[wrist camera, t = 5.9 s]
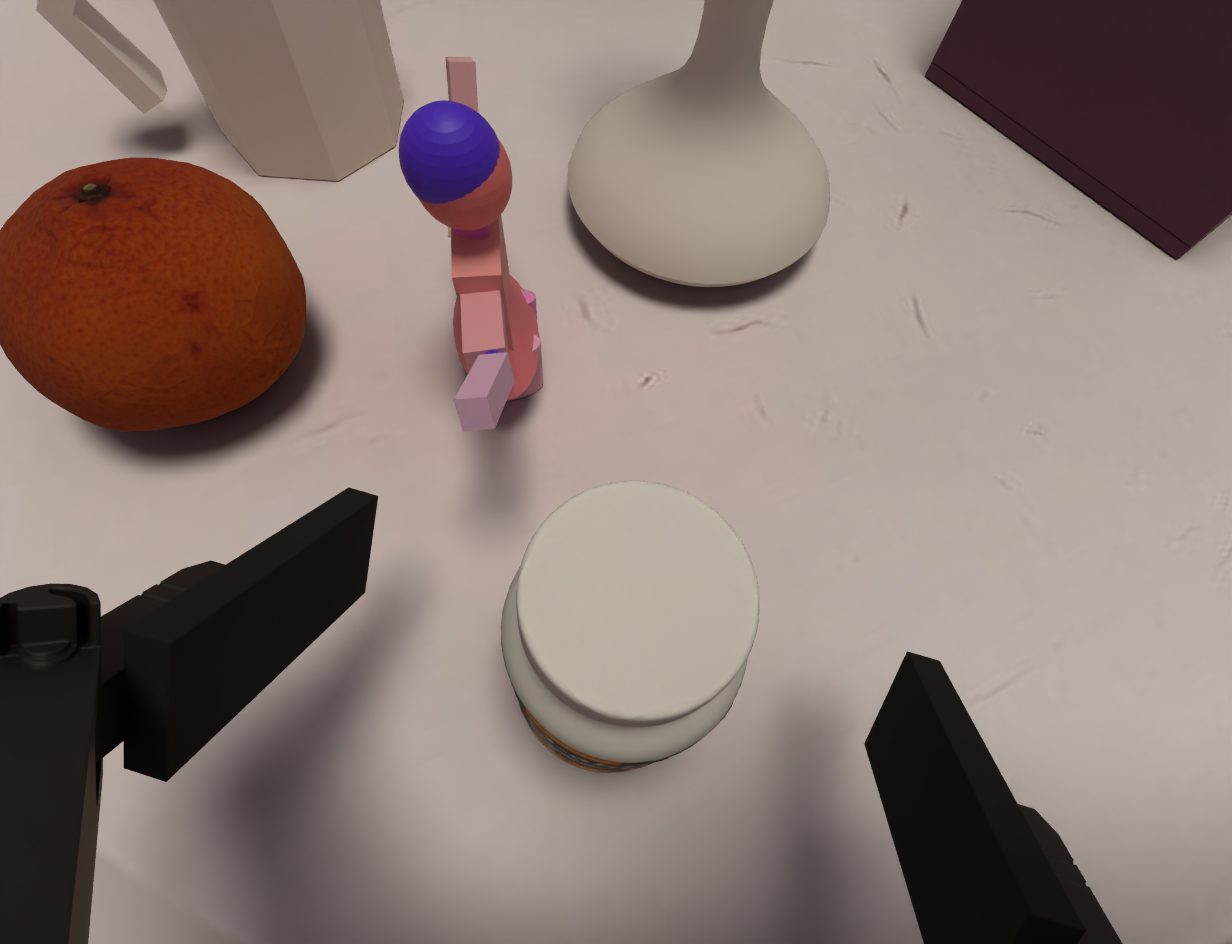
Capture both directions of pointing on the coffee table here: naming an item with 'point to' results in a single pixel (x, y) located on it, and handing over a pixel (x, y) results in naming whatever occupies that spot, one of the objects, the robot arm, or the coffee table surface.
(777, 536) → the coffee table surface
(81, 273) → the fruit
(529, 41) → the coffee table surface
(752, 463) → the coffee table surface
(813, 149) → the flower in vase
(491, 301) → the figurine
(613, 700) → the pill bottle
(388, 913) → the coffee table surface
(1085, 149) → the chest
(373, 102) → the mug
